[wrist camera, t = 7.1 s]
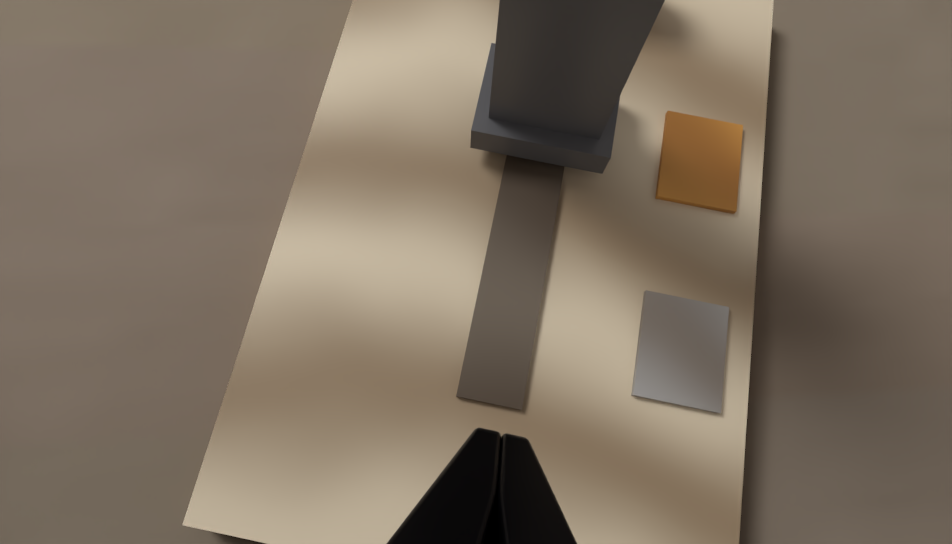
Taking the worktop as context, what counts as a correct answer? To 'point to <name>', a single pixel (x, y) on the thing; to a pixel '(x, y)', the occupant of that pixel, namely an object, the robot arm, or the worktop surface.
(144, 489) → the worktop surface
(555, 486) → the switch panel
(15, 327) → the worktop surface
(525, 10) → the dark grey tall block
